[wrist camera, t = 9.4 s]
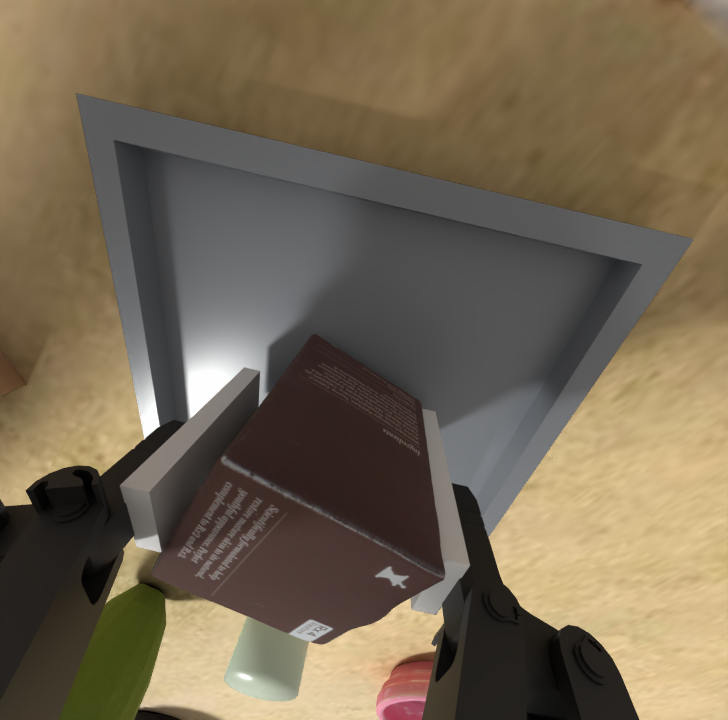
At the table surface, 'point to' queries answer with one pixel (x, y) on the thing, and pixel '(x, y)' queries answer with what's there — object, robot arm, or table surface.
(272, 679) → the sage canister
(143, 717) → the container
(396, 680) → the pink shallow round dish
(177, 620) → the table surface
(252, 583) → the box
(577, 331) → the tray
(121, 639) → the apple
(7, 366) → the walnut block
